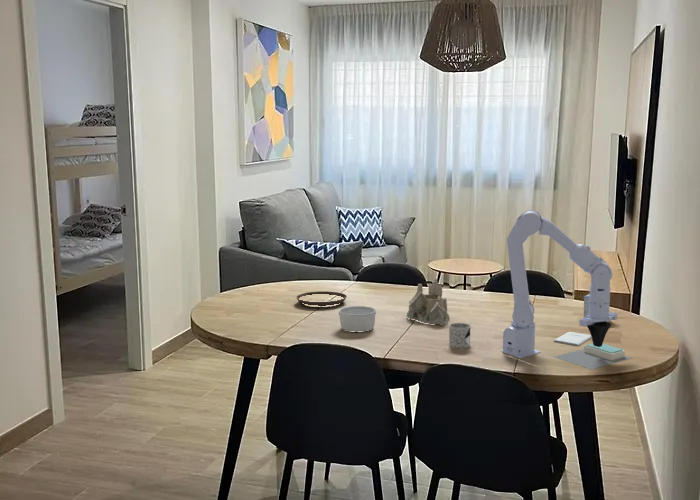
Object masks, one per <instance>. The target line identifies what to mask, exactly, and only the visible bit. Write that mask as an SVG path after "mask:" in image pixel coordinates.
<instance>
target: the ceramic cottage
mask: <svg viewBox="0 0 700 500" xmlns="http://www.w3.org/2000/svg"><path fill="white" fill-rule="evenodd" d="M416 288H417V289H416V290H417V291H416V292H415V294H414V296H413V297H412V298H411V299H410V300H409V301H408V304H409V305H408V311H407V312H406V317H408V318H410V319H415V320H418V321H421V322H424V323H429V324H445V325H447V324H448V323H449V322H450V321H451V317H450V314H449V313H448V304H447V303H448V301H447V297H445V298H443V297H442V296H443V286H442V284H441V285H439V281H438V278H434V281H432V283H431V284H428V290H427V291H428V294H424V293H423V284H422V283H418V284H417V287H416ZM449 320H450V321H449ZM448 321H449V322H448ZM447 322H448V323H447Z"/></svg>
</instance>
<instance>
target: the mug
mask: <svg viewBox="0 0 700 500" xmlns="http://www.w3.org/2000/svg"><path fill="white" fill-rule="evenodd" d="M448 327H449V328H448V329H449V338H448V339H449V340H448V341H449V343H448V345H450V346H451V347H450V346H449V347H450V348H452V347H454V348H453V349H458V348H463V349H468V348H470V347H471V325H470V324H469V323H465V322H454V323H451V324H449V326H448Z"/></svg>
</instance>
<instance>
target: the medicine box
mask: <svg viewBox="0 0 700 500" xmlns="http://www.w3.org/2000/svg"><path fill="white" fill-rule="evenodd" d="M589 297H590V293H588V294H587V295H584V296H583V318H584V317H586V316H588V315H589Z"/></svg>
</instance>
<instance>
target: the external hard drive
mask: <svg viewBox="0 0 700 500" xmlns="http://www.w3.org/2000/svg"><path fill="white" fill-rule="evenodd" d="M591 339H592V337H591V334H587V333H579V332H576V331H575V332H574V331H567V332H566V333H564V334H562V335H561V336H559V337H556V338H555V339H553V343H559V344H564V345H570V346H574V347H575V346H576V347H580V345H583V344H584V343H585V342H587V341H589V340H591Z"/></svg>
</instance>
